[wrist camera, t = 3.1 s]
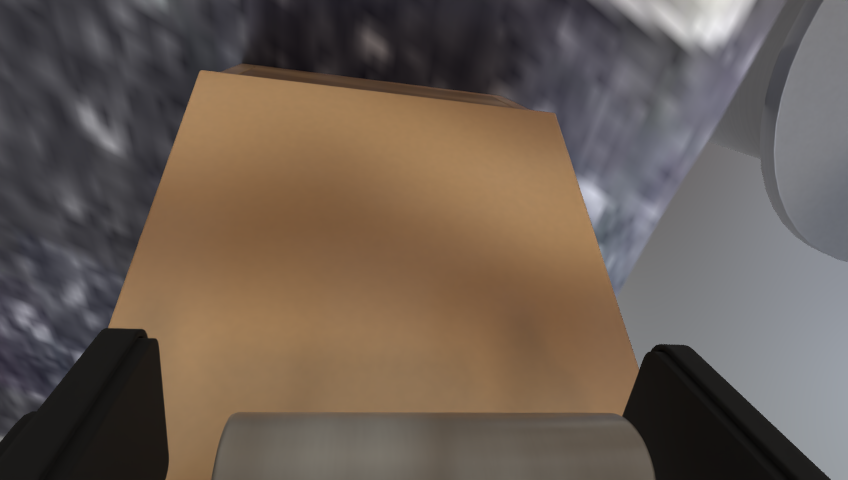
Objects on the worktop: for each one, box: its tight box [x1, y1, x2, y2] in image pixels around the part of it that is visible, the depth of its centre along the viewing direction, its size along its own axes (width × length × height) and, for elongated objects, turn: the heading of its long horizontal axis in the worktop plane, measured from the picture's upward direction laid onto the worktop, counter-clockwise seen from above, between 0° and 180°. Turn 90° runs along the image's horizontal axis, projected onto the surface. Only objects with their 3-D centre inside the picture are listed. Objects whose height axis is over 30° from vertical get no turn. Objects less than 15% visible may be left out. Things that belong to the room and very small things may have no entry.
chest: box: [221, 63, 529, 110], centre depth 25 cm, size 16×14×7 cm
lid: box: [108, 70, 656, 480], centre depth 12 cm, size 16×14×6 cm
